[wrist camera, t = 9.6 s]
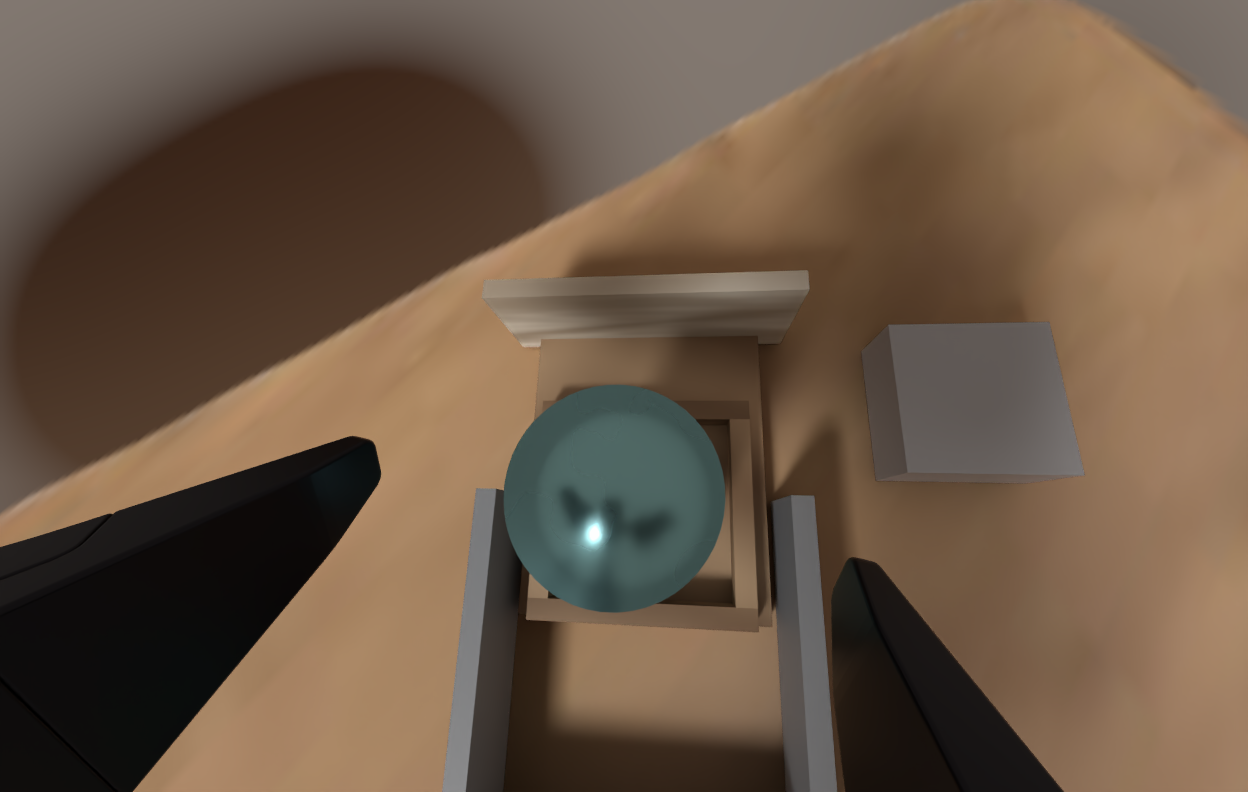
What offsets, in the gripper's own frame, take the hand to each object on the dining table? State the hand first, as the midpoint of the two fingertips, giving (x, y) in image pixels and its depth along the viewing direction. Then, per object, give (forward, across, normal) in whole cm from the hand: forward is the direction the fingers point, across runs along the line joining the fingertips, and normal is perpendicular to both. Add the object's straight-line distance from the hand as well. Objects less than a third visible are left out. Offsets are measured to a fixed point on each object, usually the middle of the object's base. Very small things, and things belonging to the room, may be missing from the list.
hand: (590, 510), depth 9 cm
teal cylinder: (+9, 0, +8) cm, 12 cm away
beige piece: (+11, 0, +7) cm, 13 cm away
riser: (+15, -12, +4) cm, 19 cm away
